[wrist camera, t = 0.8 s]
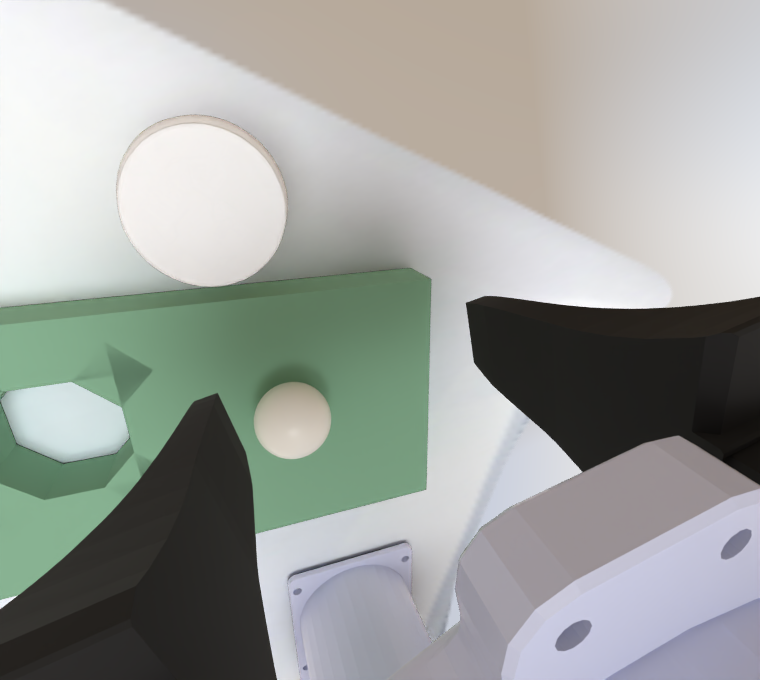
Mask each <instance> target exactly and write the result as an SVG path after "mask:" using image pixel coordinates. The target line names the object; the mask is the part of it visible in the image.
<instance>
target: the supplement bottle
mask: <svg viewBox="0 0 760 680" xmlns="http://www.w3.org/2000/svg"><path fill="white" fill-rule="evenodd" d="M116 193H117V206H118V212H119V217H120V220H121V223H122V226H123V228H124V231H125V233H126V235H127V237H128V238H129V240H130V242H131V243H132V245H133V246H134V247H135V249H136V250H137V251H138V253H139V254H140V255H141V256H142V257H143V258H144V259H145V260H146V261H147V262H148V263H149V264H151V265H152V266H153V267H154V268H156V269H157V270H159V271H160V272H162V273H163V274H165V275H167V276H169V277H171V278H173V279H175V280H178V281H180V282H183V283H187V284H191V285H196V286H204V287H217V286H226V285H230V284H234V283H237V282H240V281H242V280H244V279H246V278H248V277H250V276H252V275H254V274H255V273H257V272H258V271H259V270H260V269H262V268H263V267H264V266H265V265H266V264H267V263H268V262H269V260H270V259H271V258H272V257H273V255H274V254H275V252H276V251H277V249H278V247H279V245H280V242H281V240H282V237H283V234H284V230H285V225H286V221H287V215H288V199H287V192H286V187H285V183H284V180H283V177H282V175H281V172H280V170H279V168H278V166H277V164H276V163H275V161H274V159H273V158H272V156H271V155H270V154H269V152H268V151H267V150H266V149H265V147H264V146H263V145H262V144H261V143H260V142H259V141H258V140H257V139H255V138H254V137H253V136H252V135H250V134H249V133H248V132H246V131H245V130H243V129H241V128H240V127H238V126H236V125H234V124H232V123H230V122H228V121H225V120H222V119H219V118H215V117H211V116H203V115H184V116H178V117H174V118H169V119H166V120H162V121H160V122H158V123H156V124H154V125H152V126H150V127H148V128H147V129H146V130H144V131H143V132H142V133H140V134H139V135H138V136H137V137H136V138H135V139H134V140H133V142H132V143H131V145H130V146H129V148H128V149H127V151H126V153H125V154H124V156H123V158H122V161H121V163H120V167H119V170H118V176H117V183H116Z"/></svg>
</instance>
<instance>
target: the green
mask: <svg viewBox="0 0 760 680" xmlns="http://www.w3.org/2000/svg"><path fill="white" fill-rule="evenodd" d="M430 308H431V279H430V278H428V277H426V276H425V275H423V274H421V273H419V272H417V271H415V270H413V269H411V268H404V269H394V270H384V271H373V272H363V273H353V274H343V275H332V276H322V277H312V278H302V279H291V280H281V281H271V282H261V283H250V284H240V285H230V286H220V287H209V288H199V289H189V290H179V291H168V292H158V293H148V294H138V295H127V296H117V297H107V298H97V299H86V300H76V301H66V302H56V303H45V304H35V305H25V306H15V307H4V308H0V399H1V398H2V397H3V396H4V394H5V393H6V392H7V391H11V390H18V389H25V388H32V387H39V386H46V385H53V384H59V383H66V382H73V383H75V384H77V385H79V386H81V387H83V388H85V389H87V390H89V391H91V392H93V393H95V394H97V395H99V396H101V397H103V398H104V399H106V400H108V401H110V402H112V403H114V404H116V405H118V406H120V407H122V409H123V413H124V417H125V420H126V424H127V428H128V432H129V435H130V438H129V439H128V441H127V442H126V443H125V444H124V445H123V447H122V448H121V449H120V450H119V451H118V452H117V454H113V455H107V456H102V457H97V458H92V459H86V460H81V461H76V462H71V463H65V464H62V463H60V462H57V461H55V460H53V459H50V458H48V457H46V456H43V455H41V454H38V453H36V452H34V451H31V450H29V449H26V448H24V447H22V446H19V445H17V444H16V442H15V439H14V437H13V434H12V432H11V429H10V426H9V424H8V421H7V419H6V416H5V413H4V411H3V408H2V406H1V403H0V600H1V599H5V598H9V597H13V596H17V595H19V594H21V593H22V592H23V591H25V590H26V589H27V588H28V587H29V586H31V585H32V584H33V583H34V582H36V581H37V580H38V579H39V578H40V577H42V576H43V575H44V574H45V573H47V572H48V571H49V570H50V569H51V568H52V567H53V566H55V565H56V564H57V563H58V562H59V561H60V560H62V559H63V558H64V557H65V556H66V555H67V554H68V553H69V552H71V551H72V550H73V549H74V548H75V547H76V546H77V545H78V544H79V543H80V542H81V541H82V540H83V539H84V538H85V537H86V536H87V535H88V534H89V533H90V532H91V531H92V530H94V529H95V528H96V527H97V526H98V525H99V524H100V523H101V522H102V521H103V520H104V519H105V518H106V517H107V516H108V515H109V514H110V513H111V512H112V510H113V509H114V508H115V507H116V506H117V505H118V504H119V503H120V502H121V501H122V499H123V498H124V497H125V496H126V495H127V494H128V493H129V491H130V490H131V489H132V488H133V487H134V486H135V484H136V483H137V482H138V481H139V479H140V478H141V477H142V475H143V474H144V473H145V471H146V470H147V469H148V467H149V466H150V465H151V463H152V462H153V461H154V459H155V458H156V457H157V455H158V454H159V453H160V451H161V450H162V448H163V447H164V445H165V444H166V442H167V441H168V439H169V438H170V436H171V435H172V433H173V432H174V430H175V429H176V427H177V426H178V424H179V423H180V421H181V419H182V418H183V416H184V415H185V413H186V412H187V410H188V409H189V407H190V406H191V404H192V403H193V402H194V401H196V400H199V399H202V398H204V397H207V396H210V395H213V394H216V393H218V395H219V397H220V399H221V401H222V403H223V405H224V407H225V409H226V411H227V414H228V416H229V418H230V420H231V422H232V424H233V426H234V428H235V430H236V432H237V435H238V437H239V439H240V441H241V443H242V445H243V447H244V449H245V451H246V455H247V460H248V464H249V469H250V474H251V479H252V485H253V500H254V518H255V534H256V533H260V532H264V531H268V530H272V529H276V528H280V527H284V526H287V525H291V524H295V523H299V522H303V521H307V520H311V519H314V518H318V517H322V516H326V515H330V514H334V513H338V512H341V511H345V510H349V509H353V508H357V507H361V506H365V505H369V504H372V503H376V502H380V501H384V500H388V499H392V498H396V497H399V496H403V495H407V494H411V493H415V492H419V491H423V490H426V480H427V437H428V394H429V351H430ZM287 382H301V383H305V384H308V385H310V386H312V387H314V388H315V389H317V390H318V391H319V392H320V393H321V394H322V395H323V396H324V398H325V399H326V401H327V403H328V405H329V408H330V412H331V427H330V431H329V434H328V436H327V438H326V440H325V441H324V443H323V444H322V445H321V446H320V447H319V448H318V449H317V450H316V451H315V452H313V453H312V454H310V455H308V456H305V457H302V458H298V459H284V458H280V457H277V456H275V455H273V454H271V453H270V452H268V451H267V450H266V449H265V448H264V447H263V446H262V445H261V443H260V442H259V440H258V438H257V436H256V433H255V429H254V414H255V410H256V407H257V405H258V403H259V401H260V400H261V398H262V397H263V396H264V395H265V394H266V393H267V392H268V391H269V390H270V389H272V388H273V387H275V386H277V385H280V384H283V383H287Z"/></svg>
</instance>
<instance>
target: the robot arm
mask: <svg viewBox="0 0 760 680" xmlns="http://www.w3.org/2000/svg"><path fill="white" fill-rule="evenodd" d="M466 307H467V314H468V321H469V329H470V336H471V344H472V351H473V358H474V363H475V364H476V366H477V367H478V368H479V369H480V371H481V372H482V373H483V374H484V376H485V377H486V378H487V379H488V380H489V382H490V383H491V384H492V385H493V386H494V387H495V388H496V389H497V390H498V391H499V392H500V393H502V394H503V395H504V396H505V397H506V398H507V399H508V400H509V401H510V402H512V403H513V404H514V405H515V406H516V407H517V408H518V409H520V410H521V411H522V412H523V413H524V414H525V415H526V416H527V417H529V418H530V419H531V420H532V421H533V422H534V423H535V424H537V425H538V426H539V427H540V428H541V429H542V430H543V431H545V432H546V433H547V434H548V435H549V436H550V437H551V438H552V439H553V440H554V441H555V442H556V443H557V444H558V445H559V446H560V447H561V448H562V450H563V451H564V452H565V453H566V454H567V455H568V456H569V457H570V458H571V459H572V461H573V462H574V463H575V464H576V465H577V466H578V467H579V468H580V470H581V471H582V473H580V474H578V475H576V476H574V477H572V478H570V479H568V480H566V481H564V482H561V483H559V484H557V485H555V486H553V487H551V488H549V489H547V490H545V491H543V492H540V493H538V494H536V495H534V496H532V497H530V498H528V499H526V500H524V501H522V502H519V503H518V504H515V505H513V506H511V507H509V508H508V509H506V510H505V511H504V512H502V513H501V514H499V515H498V516H496V517H495V518H494V519H492V520H491V521H489V522H488V523H487V524H485V525H484V526H482V527H481V528H480V529H479V531H478V532H477V534H476V535H475V536H474V538H473V539H472V541H471V542H470V543H469V545H468V546H467V548H466V549H465V550H464V552H463V553H462V555H461V557H460V560H459V564H458V571H457V578H456V585H455V592H456V596H457V601H458V605H459V610H460V621H459V622H458V623H457V624H455V625H454V626H453V627H452V628H451V629H449V630H448V631H447V632H445V633H444V634H443V635H442V636H440V637H439V638H438V639H437V640H435V641H434V642H433V643H432V642H431V640H430V637H429V635H428V633H427V631H426V628H425V626H424V624H423V622H422V620H421V617H420V615H419V613H418V611H417V608H416V606H415V604H414V602H413V600H412V549H411V547H410V545H409V544H408V543H402V544H399V545H395V546H392V547H389V548H385V549H382V550H378V551H375V552H371V553H368V554H365V555H361V556H358V557H354V558H351V559H348V560H344V561H341V562H337V563H334V564H330V565H327V566H324V567H320V568H317V569H313V570H310V571H307V572H303V573H300V574H296V575H294V576H292V577H291V578H289V580H288V590H289V598H290V605H291V613H292V620H293V627H294V635H295V642H296V650H297V657H298V665H299V672H300V679H301V680H760V297H756V298H750V299H744V300H738V301H732V302H724V303H715V304H706V305H697V306H686V307H674V308H673V307H672V308H650V309H611V308H589V307H578V306H567V305H559V304H551V303H543V302H536V301H529V300H521V299H514V298H506V297H497V296H484V297H481V298H478V299H475V300H473V301H470V302H467V303H466ZM297 588H299V589H297ZM295 589H296V590H295ZM0 680H277V678H276V673H275V668H274V663H273V657H272V652H271V647H270V641H269V636H268V630H267V625H266V619H265V614H264V608H263V602H262V596H261V590H260V584H259V577H258V568H257V555H256V537H255V518H254V500H253V485H252V479H251V474H250V469H249V464H248V460H247V455H246V451H245V449H244V447H243V445H242V443H241V441H240V439H239V437H238V435H237V432H236V430H235V428H234V426H233V424H232V422H231V420H230V418H229V416H228V414H227V411H226V409H225V407H224V405H223V403H222V401H221V399H220V397H219V395H218V393H216V394H213V395H210V396H207V397H204V398H202V399H199V400H196V401H194V402H193V403H192V404H191V406H190V407H189V409H188V410H187V412H186V413H185V415H184V416H183V418H182V419H181V421H180V423H179V424H178V426H177V427H176V429H175V430H174V432H173V433H172V435H171V436H170V438H169V439H168V441H167V442H166V444H165V445H164V447H163V448H162V450H161V451H160V453H159V454H158V455H157V457H156V458H155V459H154V461H153V462H152V463H151V465H150V466H149V467H148V469H147V470H146V471H145V473H144V474H143V475H142V477H141V478H140V479H139V481H138V482H137V483H136V484H135V486H134V487H133V488H132V489H131V490H130V491H129V493H128V494H127V495H126V496H125V497H124V498H123V499H122V501H121V502H120V503H119V504H118V505H117V506H116V507H115V508H114V509H113V510H112V512H111V513H110V514H109V515H108V516H107V517H106V518H105V519H104V520H103V521H102V522H101V523H100V524H99V525H98V526H97V527H96V528H95V529H94V530H92V531H91V532H90V533H89V534H88V535H87V536H86V537H85V538H84V539H83V540H82V541H81V542H80V543H79V544H78V545H77V546H76V547H75V548H74V549H73V550H72V551H71V552H69V553H68V554H67V555H66V556H65V557H64V558H63V559H62V560H60V561H59V562H58V563H57V564H56V565H55V566H53V567H52V568H51V569H50V570H49V571H48V572H47V573H45V574H44V575H43V576H42V577H40V578H39V579H38V580H37V581H36V582H34V583H33V584H32V585H31V586H29V587H28V588H27V589H26V590H25V591H23V592H22V593H21V594H19V595H18V596H17V597H16V598H14V599H13V600H12V601H11V602H9V603H8V604H7V605H5V606H4V607H3V608H1V609H0Z"/></svg>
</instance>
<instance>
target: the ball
mask: <svg viewBox="0 0 760 680" xmlns="http://www.w3.org/2000/svg"><path fill="white" fill-rule="evenodd" d="M330 427H331V412H330V408H329V405H328V403H327V401H326V399H325V398H324V396H323V395H322V394H321V393H320V392H319V391H318V390H317V389H315V388H314V387H312V386H310V385H308V384H305V383H301V382H287V383H283V384H280V385H277V386H275V387H273V388H272V389H270V390H269V391H268V392H267V393H266V394H265V395H264V396H263V397H262V398H261V400H260V401H259V403H258V405H257V407H256V410H255V414H254V429H255V433H256V436H257V438H258V440H259V442H260V443H261V445H262V446H263V447H264V448H265V449H266V450H267V451H268V452H270V453H271V454H273V455H275V456H277V457H280V458H284V459H298V458H302V457H305V456H308V455H310V454H312V453H313V452H315V451H316V450H317V449H318V448H319V447H320V446H321V445H322V444H323V443H324V441H325V440H326V438H327V436H328V434H329V431H330Z"/></svg>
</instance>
